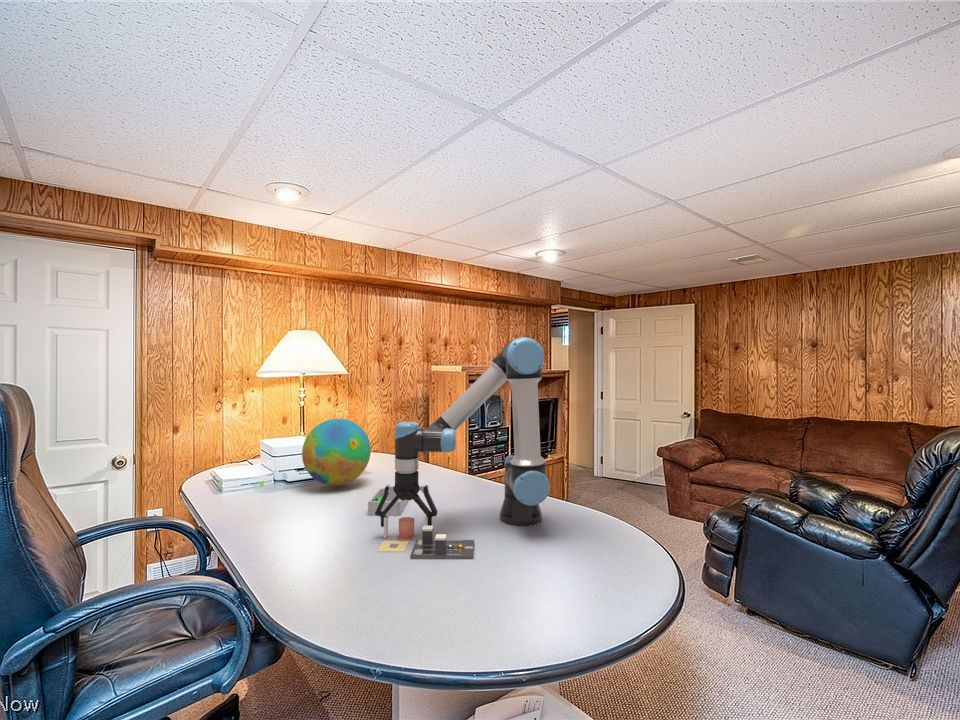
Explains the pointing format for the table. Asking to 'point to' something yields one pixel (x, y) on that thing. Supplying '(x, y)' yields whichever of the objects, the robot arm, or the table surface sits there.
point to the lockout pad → (393, 546)
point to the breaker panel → (453, 550)
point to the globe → (336, 452)
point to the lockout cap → (406, 528)
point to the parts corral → (386, 504)
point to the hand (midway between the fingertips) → (406, 537)
